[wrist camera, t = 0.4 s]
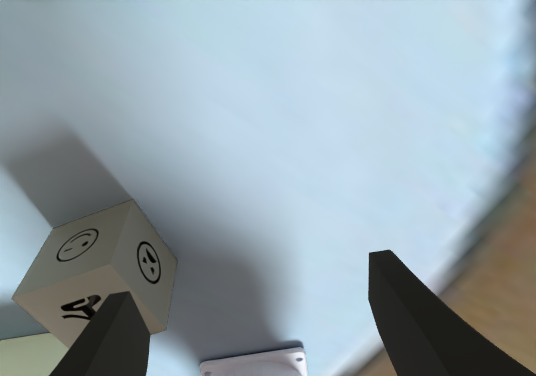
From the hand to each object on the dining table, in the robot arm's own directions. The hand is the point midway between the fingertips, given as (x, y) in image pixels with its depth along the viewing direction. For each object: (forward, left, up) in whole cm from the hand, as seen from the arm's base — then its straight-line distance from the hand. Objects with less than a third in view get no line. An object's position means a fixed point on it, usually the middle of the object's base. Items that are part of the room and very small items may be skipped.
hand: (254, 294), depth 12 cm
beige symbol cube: (-5, +8, -10) cm, 14 cm away
